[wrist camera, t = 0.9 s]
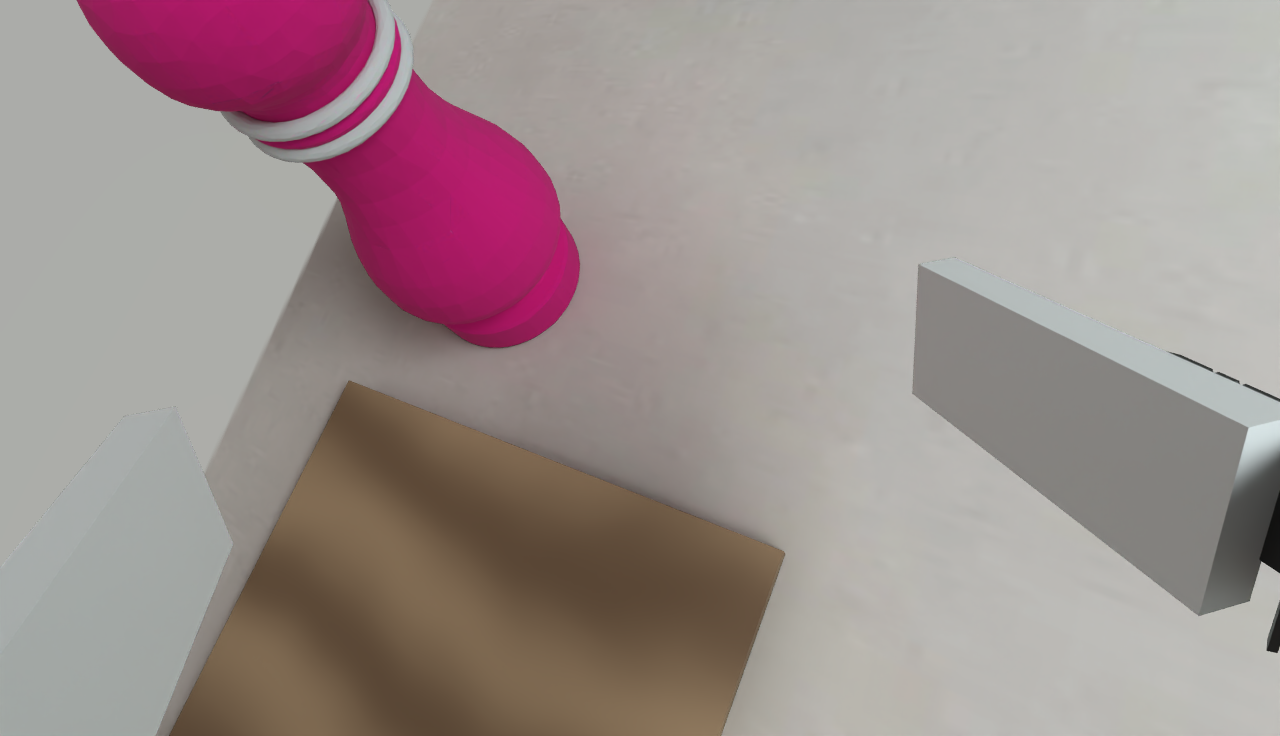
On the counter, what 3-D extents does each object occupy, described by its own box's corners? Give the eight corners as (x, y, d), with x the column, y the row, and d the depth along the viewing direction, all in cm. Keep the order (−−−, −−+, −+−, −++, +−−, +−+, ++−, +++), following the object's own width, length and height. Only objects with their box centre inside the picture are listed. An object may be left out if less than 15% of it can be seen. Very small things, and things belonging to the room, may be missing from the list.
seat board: (363, 387, 31) (300, 355, 28) (785, 553, 26) (777, 541, 22) (135, 842, 28) (27, 875, 24) (570, 1159, 22) (517, 1269, 18)
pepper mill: (457, 391, 30) (-124, 23, 12) (407, 249, 33) (-127, -229, 15) (620, 308, 30) (279, -210, 11) (555, 171, 33) (196, -426, 14)
